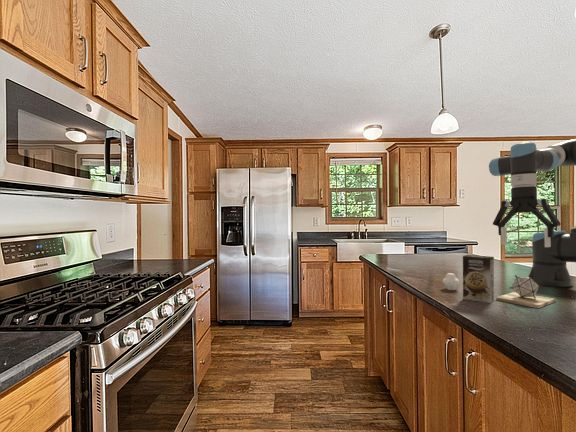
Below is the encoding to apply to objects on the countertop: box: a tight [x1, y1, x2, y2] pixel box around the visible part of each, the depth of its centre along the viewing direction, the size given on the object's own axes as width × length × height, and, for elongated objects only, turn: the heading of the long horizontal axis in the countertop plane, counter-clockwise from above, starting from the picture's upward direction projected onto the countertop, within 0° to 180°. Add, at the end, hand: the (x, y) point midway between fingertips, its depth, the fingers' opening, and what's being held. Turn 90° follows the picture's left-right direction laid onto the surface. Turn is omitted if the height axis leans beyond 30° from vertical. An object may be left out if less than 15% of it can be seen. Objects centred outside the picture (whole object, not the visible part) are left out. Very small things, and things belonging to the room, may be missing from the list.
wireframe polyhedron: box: [509, 274, 543, 299], centre depth 117 cm, size 9×8×10 cm
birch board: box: [495, 291, 556, 309], centre depth 117 cm, size 14×13×1 cm
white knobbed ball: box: [442, 272, 460, 291], centre depth 136 cm, size 6×6×7 cm
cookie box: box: [462, 254, 495, 304], centre depth 120 cm, size 9×6×16 cm
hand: (524, 245), depth 117 cm, fingers open, 13 cm apart
